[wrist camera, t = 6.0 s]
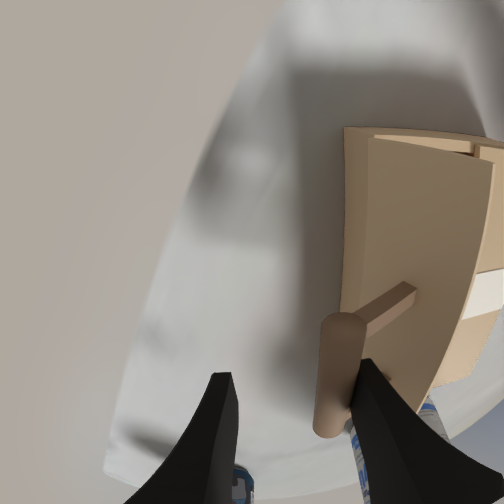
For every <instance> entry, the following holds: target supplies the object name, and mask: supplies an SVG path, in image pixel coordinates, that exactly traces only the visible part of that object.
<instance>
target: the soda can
mask: <svg viewBox="0 0 504 504" xmlns="http://www.w3.org/2000/svg"><path fill="white" fill-rule="evenodd" d="M232 504H254V480H253V478H252V477H251V475H250V474H249V473H248V471H246V470H245V469H242V468H239V467H234V470H233V479H232Z"/></svg>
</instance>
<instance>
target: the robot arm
mask: <svg viewBox="0 0 504 504" xmlns="http://www.w3.org/2000/svg"><path fill="white" fill-rule="evenodd" d="M350 411H351V417H352V420H353V424H354V427H355V431H356V434H357V438H358V441H359V445H360V448H361V452H362V455H363V459H364V462H365V467H366V472H367V479H368V486H369V494H370V504H492V503H494V502H495V501H497V500H499V499H500V498H502V497H504V479H503V476H502V474H501V473H499V472H496V471H494V470H492V469H490V468H488V467H486V466H484V465H482V464H480V463H478V462H477V461H475V460H473V459H472V458H470V457H468V456H467V455H465V454H464V453H463V452H461V451H460V450H458V449H457V448H455V447H454V446H452V445H451V444H450V443H448V442H447V441H446V440H445V439H443V438H442V437H441V436H440V435H438V434H437V433H436V432H435V431H434V430H433V429H432V428H430V427H429V426H428V425H427V424H426V423H425V422H424V421H423V420H422V419H421V418H420V417H419V416H418V415H417V414H416V413H415V412H414V411H413V410H412V408H411V407H410V406H409V405H408V404H407V403H406V402H405V401H404V399H403V398H402V397H401V396H400V395H399V394H398V393H397V391H396V390H395V389H394V388H393V386H392V385H391V384H390V383H389V381H388V380H387V379H386V378H385V376H384V375H383V374H382V372H381V371H380V370H379V368H378V367H377V366H376V364H375V363H374V362H373V360H372V359H371V358H366V359H361V362H360V367H359V371H358V376H357V380H356V384H355V388H354V392H353V396H352V400H351V404H350ZM238 423H239V412H238V399H237V395H236V391H235V387H234V383H233V379H232V375H231V372H220V373H213V374H212V375H211V378H210V381H209V383H208V386H207V388H206V391H205V393H204V395H203V397H202V399H201V402H200V404H199V406H198V408H197V410H196V412H195V413H194V415H193V417H192V419H191V421H190V423H189V425H188V426H187V428H186V430H185V431H184V433H183V434H182V436H181V438H180V439H179V441H178V443H177V444H176V445H175V447H174V448H173V450H172V451H171V453H170V454H169V455H168V457H167V458H166V459H165V461H164V462H163V463H162V465H161V466H160V467H159V468H158V469H157V470H156V472H155V473H154V474H153V475H152V476H151V477H150V479H149V480H148V481H147V482H146V483H145V484H144V485H143V486H142V487H141V488H140V489H139V490H138V491H137V492H136V493H135V494H134V495H133V496H131V497H130V498H129V499H128V500H127V501H126V502H125V503H124V504H232V479H233V470H234V461H235V453H236V445H237V436H238Z"/></svg>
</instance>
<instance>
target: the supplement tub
mask: <svg viewBox="0 0 504 504" xmlns="http://www.w3.org/2000/svg"><path fill="white" fill-rule="evenodd" d="M417 415H418V416H419V417H420V418H421V419H422V420H423V421H424V422H425V423H426V424H427V425H428V426H429V427H430V428H432V429H433V430H434V431H435V432H436V433H437V434H438V435H440V436H441V437H442V438H443V439H445V440H446V441H447V442H448V443H450V441H449V438H448V436H447V433H446V431H445V429H444V426H443V424H442V421H441V419H440V417H439V414H438V412H437V410H436V408H435V406H434V404H433V402H432V400H431V399H430V398H428V397H427V398H426V400H425V401H424V403H423V405H422V407H421V409H420V410H419V412H418V414H417ZM350 438H351V443H352V448H353V452H354V457H355V461H356V465H357V470H358V475H359V480H360V484H361V489H362V494H363V499H364V504H370V494H369V486H368V479H367V472H366V467H365V462H364V459H363V455H362V452H361V448H360V445H359V441H358V438H357V434H356V431H355V427H354V426H353V428H352V430H351V433H350Z"/></svg>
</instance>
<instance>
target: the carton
mask: <svg viewBox="0 0 504 504" xmlns="http://www.w3.org/2000/svg"><path fill="white" fill-rule="evenodd" d="M343 130H344V156H345V226H344V254H343V272H342V287H341V301H340V312H348V313H353V312H355V311H356V310H358V309H359V302H360V294H361V285H362V276H363V266H364V254H365V241H366V225H367V203H368V138H380V139H387V140H393V141H400V142H406V143H411V144H417V145H422V146H427V147H432V148H437V149H442V150H446V151H451V152H455V153H459V154H464V155H468V156H472V157H475V158H479V159H483V160H487V161H490V162H494V163H496V170H495V180H494V188H493V196H492V203H491V209H490V215H489V221H488V226H487V231H486V236H485V241H484V245H483V250H482V254H481V258H480V262H479V266H478V269H477V273H476V277H475V280H474V284H473V287H472V290H471V293H470V296H469V300H468V303H467V306H466V308H465V311H464V314H463V317H462V320H461V322H460V325H459V328H458V330H457V333H456V335H455V338H454V340H453V343H452V345H451V348H450V350H449V352H448V355H447V357H446V359H445V361H444V363H443V366H442V368H441V370H440V372H439V374H438V376H437V378H436V380H435V382H434V384H433V386H432V388H435V387H438V386H441V385H444V384H447V383H450V382H453V381H456V380H459V379H462V378H465V377H467V376H469V375H470V373H471V371H472V369H473V368H474V366H475V364H476V362H477V360H478V358H479V356H480V354H481V352H482V350H483V348H484V346H485V344H486V342H487V340H488V338H489V335H490V333H491V331H492V329H493V326H494V324H495V322H496V319H497V317H498V315H499V312H500V310H501V308H502V306H503V304H504V142H501V141H497V140H494V139H490V138H486V137H480V136H473V135H466V134H458V133H450V132H440V131H430V130H417V129H402V128H379V127H343ZM432 388H431V389H432Z"/></svg>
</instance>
